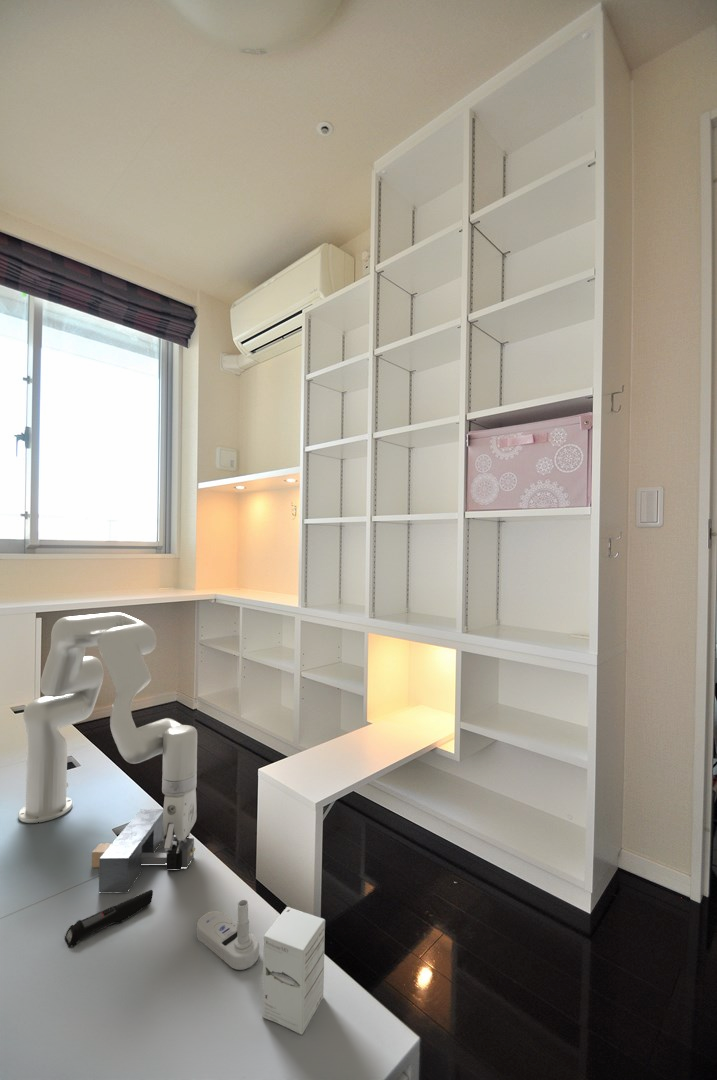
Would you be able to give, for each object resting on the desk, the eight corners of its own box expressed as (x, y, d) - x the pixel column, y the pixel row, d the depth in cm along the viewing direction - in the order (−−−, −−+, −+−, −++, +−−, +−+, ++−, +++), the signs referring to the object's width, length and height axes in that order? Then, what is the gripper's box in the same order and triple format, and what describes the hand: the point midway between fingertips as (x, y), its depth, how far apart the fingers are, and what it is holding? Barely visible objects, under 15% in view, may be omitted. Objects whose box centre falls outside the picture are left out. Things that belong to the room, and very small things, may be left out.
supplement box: (260, 1019, 76) (261, 934, 76) (286, 981, 83) (287, 903, 83) (302, 1038, 73) (303, 950, 73) (325, 997, 80) (326, 917, 80)
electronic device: (215, 869, 97) (264, 901, 88) (216, 920, 97) (265, 958, 87) (191, 883, 93) (239, 918, 84) (191, 936, 93) (240, 978, 83)
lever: (90, 868, 112) (91, 849, 112) (100, 856, 116) (101, 837, 116) (190, 869, 112) (190, 849, 112) (196, 857, 116) (196, 838, 116)
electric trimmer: (155, 909, 100) (156, 893, 100) (69, 951, 89) (69, 933, 89) (148, 900, 102) (149, 884, 103) (63, 939, 92) (64, 921, 92)
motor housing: (98, 893, 104) (99, 858, 104) (140, 838, 124) (140, 809, 124) (127, 893, 104) (128, 858, 104) (164, 838, 124) (164, 809, 124)
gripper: (183, 800, 106) (181, 887, 105) (206, 766, 123) (205, 841, 122) (148, 800, 106) (146, 886, 105) (176, 766, 123) (175, 841, 122)
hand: (178, 861), depth 114 cm, fingers closed on lever, 4 cm apart
